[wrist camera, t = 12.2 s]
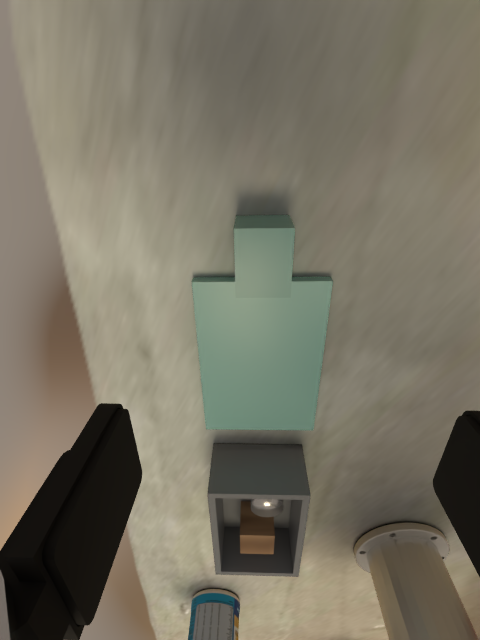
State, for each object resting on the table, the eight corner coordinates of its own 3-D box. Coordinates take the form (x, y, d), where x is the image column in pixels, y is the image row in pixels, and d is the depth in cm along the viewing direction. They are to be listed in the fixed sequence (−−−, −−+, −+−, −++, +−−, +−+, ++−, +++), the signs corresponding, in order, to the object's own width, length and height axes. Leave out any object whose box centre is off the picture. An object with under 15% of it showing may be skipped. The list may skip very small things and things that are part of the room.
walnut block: (271, 520, 43) (273, 554, 39) (241, 519, 43) (240, 553, 39) (272, 501, 41) (274, 535, 37) (240, 501, 41) (239, 535, 37)
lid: (311, 423, 35) (318, 454, 32) (207, 422, 36) (202, 453, 32) (338, 214, 24) (352, 227, 21) (187, 216, 25) (177, 229, 21)
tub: (292, 525, 44) (298, 576, 39) (219, 523, 45) (215, 574, 40) (302, 444, 37) (310, 495, 31) (213, 443, 37) (207, 493, 32)
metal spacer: (285, 483, 39) (288, 512, 36) (258, 491, 40) (258, 520, 37) (273, 465, 37) (276, 494, 34) (245, 473, 38) (245, 502, 35)
